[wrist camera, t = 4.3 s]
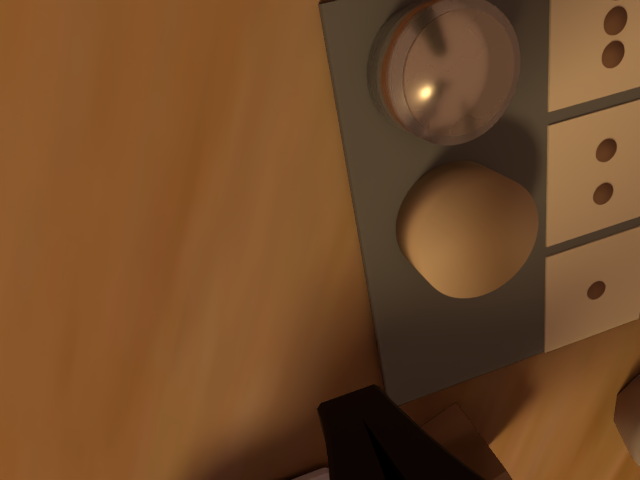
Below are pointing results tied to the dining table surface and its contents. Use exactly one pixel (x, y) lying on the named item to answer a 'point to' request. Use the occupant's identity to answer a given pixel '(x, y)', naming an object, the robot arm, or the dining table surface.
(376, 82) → the tealight tin
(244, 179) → the dining table surface
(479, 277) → the beech disc
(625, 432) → the salt shaker
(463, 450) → the walnut block
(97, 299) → the dining table surface
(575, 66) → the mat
